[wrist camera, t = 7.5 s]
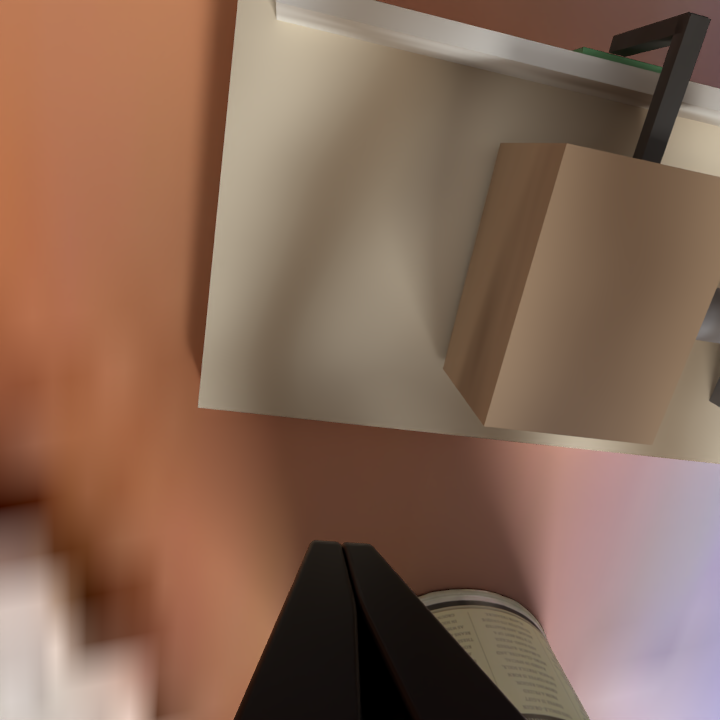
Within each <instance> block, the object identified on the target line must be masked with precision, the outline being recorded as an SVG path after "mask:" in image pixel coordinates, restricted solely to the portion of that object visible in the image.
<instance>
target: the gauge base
mask: <svg viewBox="0 0 720 720" xmlns="http://www.w3.org/2000/svg"><path fill="white" fill-rule="evenodd" d="M662 68H663V67H660V66H656V65H652V64H648V63H644V62H640V61H636V60H633V59H629V58H625V57H621V56H617V55H613V54H609V53H605V52H602V51H598V50H594V49H590V48H586V47H582V48H579V49H576V50H573V51H570V50H566V49H562V48H558V47H555V46H551V45H547V44H543V43H539V42H535V41H531V40H527V39H523V38H519V37H515V36H512V35H508V34H504V33H500V32H496V31H492V30H488V29H484V28H480V27H476V26H472V25H469V24H465V23H461V22H457V21H453V20H449V19H445V18H441V17H437V16H433V15H429V14H426V13H422V12H418V11H414V10H410V9H406V8H402V7H398V6H394V5H390V4H386V3H383V2H379V1H375V0H238V5H237V16H236V26H235V36H234V46H233V56H232V66H231V76H230V87H229V97H228V107H227V117H226V127H225V137H224V147H223V158H222V168H221V178H220V188H219V198H218V208H217V218H216V229H215V239H214V249H213V259H212V269H211V279H210V289H209V300H208V310H207V320H206V330H205V340H204V350H203V360H202V371H201V381H200V391H199V401H198V408H207V409H217V410H226V411H235V412H244V413H254V414H263V415H272V416H281V417H291V418H300V419H309V420H318V421H328V422H337V423H346V424H355V425H365V426H374V427H383V428H392V429H402V430H411V431H420V432H429V433H439V434H448V435H457V436H466V437H476V438H485V439H494V440H503V441H513V442H522V443H531V444H540V445H550V446H559V447H568V448H578V449H587V450H596V451H605V452H615V453H624V454H633V455H642V456H652V457H661V458H670V459H679V460H689V461H698V462H707V463H716V464H720V343H713V342H707V341H700V340H695V342H694V344H693V347H692V349H691V352H690V354H689V357H688V359H687V361H686V364H685V366H684V369H683V371H682V374H681V376H680V378H679V381H678V383H677V386H676V388H675V391H674V393H673V395H672V398H671V400H670V403H669V405H668V408H667V410H666V413H665V415H664V417H663V420H662V422H661V425H660V427H659V430H658V432H657V434H656V437H655V439H654V442H653V444H652V445H646V444H637V443H628V442H619V441H610V440H601V439H593V438H584V437H575V436H566V435H557V434H548V433H539V432H530V431H521V430H512V429H504V428H495V427H486V426H483V424H482V423H481V421H480V420H479V419H478V417H477V416H476V414H475V413H474V412H473V410H472V409H471V407H470V406H469V405H468V403H467V402H466V401H465V399H464V398H463V396H462V395H461V394H460V392H459V391H458V389H457V388H456V387H455V385H454V384H453V382H452V381H451V380H450V378H449V377H448V375H447V374H446V373H445V371H444V370H443V366H444V362H445V358H446V354H447V350H448V346H449V343H450V339H451V335H452V331H453V327H454V323H455V319H456V315H457V311H458V307H459V303H460V299H461V296H462V292H463V288H464V284H465V280H466V276H467V272H468V268H469V264H470V260H471V256H472V252H473V248H474V245H475V241H476V237H477V233H478V229H479V225H480V221H481V217H482V213H483V209H484V205H485V201H486V198H487V194H488V190H489V186H490V182H491V178H492V174H493V170H494V166H495V162H496V158H497V154H498V151H499V147H500V143H568V144H573V145H577V146H582V147H586V148H591V149H595V150H600V151H605V152H609V153H614V154H618V155H623V156H627V157H632V158H633V155H634V152H635V149H636V146H637V143H638V140H639V137H640V134H641V131H642V128H643V125H644V122H645V119H646V116H647V113H648V110H649V107H650V104H651V101H652V98H653V95H654V92H655V89H656V86H657V83H658V80H659V77H660V74H661V71H662ZM660 164H663V165H668V166H672V167H677V168H681V169H686V170H690V171H695V172H700V173H704V174H709V175H713V176H718V177H720V89H719V88H715V87H711V86H707V85H703V84H699V83H695V82H691V81H689V83H688V86H687V89H686V92H685V95H684V98H683V100H682V103H681V106H680V109H679V112H678V115H677V118H676V120H675V123H674V126H673V129H672V132H671V135H670V138H669V140H668V143H667V146H666V149H665V152H664V155H663V158H662V160H661V163H660ZM717 288H720V281H719V284H718V286H717Z"/></svg>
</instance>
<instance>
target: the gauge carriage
mask: <svg viewBox="0 0 720 720" xmlns="http://www.w3.org/2000/svg"><path fill="white" fill-rule="evenodd" d="M710 20H711V19H708V17H705V16H701V15H697V14H694V13H690V12H688V13H685V14H682V15H678V16H675V17H672V18H669V19H666V20H663V21H659V22H656V23H653V24H650V25H647V26H644V27H641V28H637V29H634V30H631V31H628V32H625V33H622V34H619V35H615V36H614V37H613V40H612V43H611V47H610V50H609V53H612V54H616V55H620V56H624V57H626V56H630V55H634V54H638V53H642V52H646V51H650V50H654V49H659V48H663V47H667V46H670V47H669V50H668V53H667V56H666V59H665V62H664V65H663V68H662V71H661V74H660V77H659V80H658V83H657V86H656V89H655V92H654V95H653V98H652V101H651V104H650V107H649V110H648V113H647V116H646V119H645V122H644V125H643V128H642V131H641V134H640V137H639V140H638V143H637V146H636V149H635V152H634V155H633V158H632V157H627V156H623V155H618V154H614V153H609V152H605V151H600V150H595V149H591V148H586V147H582V146H577V145H573V144H568V143H500V147H499V151H498V154H497V158H496V162H495V166H494V170H493V174H492V178H491V182H490V186H489V190H488V194H487V198H486V201H485V205H484V209H483V213H482V217H481V221H480V225H479V229H478V233H477V237H476V241H475V245H474V248H473V252H472V256H471V260H470V264H469V268H468V272H467V276H466V280H465V284H464V288H463V292H462V296H461V299H460V303H459V307H458V311H457V315H456V319H455V323H454V327H453V331H452V335H451V339H450V343H449V346H448V350H447V354H446V358H445V362H444V366H443V370H444V371H445V373H446V374H447V375H448V377H449V378H450V380H451V381H452V382H453V384H454V385H455V387H456V388H457V389H458V391H459V392H460V394H461V395H462V396H463V398H464V399H465V401H466V402H467V403H468V405H469V406H470V407H471V409H472V410H473V412H474V413H475V414H476V416H477V417H478V419H479V420H480V421H481V423H482V424H483V426H486V427H495V428H504V429H512V430H521V431H530V432H539V433H548V434H557V435H566V436H575V437H584V438H593V439H601V440H610V441H619V442H628V443H637V444H646V445H652V444H653V442H654V439H655V437H656V434H657V432H658V430H659V427H660V425H661V422H662V420H663V417H664V415H665V413H666V410H667V408H668V405H669V403H670V400H671V398H672V395H673V393H674V391H675V388H676V386H677V383H678V381H679V378H680V376H681V374H682V371H683V369H684V366H685V364H686V361H687V359H688V357H689V354H690V352H691V349H692V347H693V344H694V342H695V340H700V341H707V342H713V343H720V288H717V286H718V284H719V281H720V177H718V176H713V175H709V174H704V173H700V172H695V171H690V170H686V169H681V168H677V167H672V166H668V165H663V164H660V163H661V160H662V158H663V155H664V152H665V149H666V146H667V143H668V140H669V138H670V135H671V132H672V129H673V126H674V123H675V120H676V118H677V115H678V112H679V109H680V106H681V103H682V100H683V98H684V95H685V92H686V89H687V86H688V83H689V80H690V78H691V75H692V72H693V69H694V66H695V63H696V60H697V58H698V55H699V52H700V49H701V46H702V43H703V40H704V38H705V35H706V32H707V29H708V26H709V23H710Z"/></svg>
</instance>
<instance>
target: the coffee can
mask: <svg viewBox="0 0 720 720" xmlns="http://www.w3.org/2000/svg"><path fill="white" fill-rule="evenodd" d="M418 598H419V599H420V600H421V601H422V602H423V603H424V605H425V606H426V607H427V608H428V609H429V610H430V611H431V612H432V614H433V615H434V616H435V617H436V618H437V619H438V620H439V621H440V623H441V624H442V625H443V626H444V627H445V628H446V629H447V630H448V632H449V633H450V634H451V635H452V636H453V637H454V638H455V639H456V641H457V642H458V643H459V644H460V645H461V646H462V647H463V648H464V650H465V651H466V652H467V653H468V654H469V655H470V656H471V657H472V659H473V660H474V661H475V662H476V663H477V664H478V665H479V666H480V668H481V669H482V670H483V671H484V672H485V673H486V674H487V675H488V677H489V678H490V679H491V680H492V681H493V682H494V683H495V684H496V686H497V687H498V688H499V689H500V690H501V691H502V692H503V693H504V695H505V696H506V697H507V698H508V699H509V700H510V701H511V702H512V704H513V705H514V706H515V707H516V708H517V709H518V710H519V711H520V713H521V714H522V715H523V716H524V717H525V718H526V719H527V720H590V719H589V717H588V715H587V713H586V711H585V710H584V708H583V706H582V704H581V702H580V701H579V699H578V697H577V695H576V693H575V691H574V690H573V688H572V686H571V684H570V682H569V680H568V679H567V677H566V675H565V673H564V671H563V669H562V668H561V666H560V664H559V662H558V660H557V659H556V657H555V655H554V653H553V651H552V650H551V647H550V645H549V643H548V641H547V638H546V635H545V633H544V631H543V629H542V627H541V625H540V624H539V622H538V621H537V620H536V618H535V617H534V616H533V615H532V614H531V613H530V612H529V611H528V610H527V609H526V608H524V607H523V606H522V605H521V604H519V603H518V602H516V601H514V600H512V599H510V598H507V597H504V596H501V595H499V594H496V593H493V592H489V591H483V590H474V589H454V590H445V591H437V592H431V593H428V594H425V595H423V596H419V597H418Z"/></svg>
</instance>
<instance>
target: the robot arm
mask: <svg viewBox="0 0 720 720" xmlns="http://www.w3.org/2000/svg"><path fill="white" fill-rule="evenodd" d="M234 720H527V719H526V718H525V717H524V716H523V715H522V714H521V713H520V711H519V710H518V709H517V708H516V707H515V706H514V705H513V704H512V702H511V701H510V700H509V699H508V698H507V697H506V696H505V695H504V693H503V692H502V691H501V690H500V689H499V688H498V687H497V686H496V684H495V683H494V682H493V681H492V680H491V679H490V678H489V677H488V675H487V674H486V673H485V672H484V671H483V670H482V669H481V668H480V666H479V665H478V664H477V663H476V662H475V661H474V660H473V659H472V657H471V656H470V655H469V654H468V653H467V652H466V651H465V650H464V648H463V647H462V646H461V645H460V644H459V643H458V642H457V641H456V639H455V638H454V637H453V636H452V635H451V634H450V633H449V632H448V630H447V629H446V628H445V627H444V626H443V625H442V624H441V623H440V621H439V620H438V619H437V618H436V617H435V616H434V615H433V614H432V612H431V611H430V610H429V609H428V608H427V607H426V606H425V605H424V603H423V602H422V601H421V600H420V599H419V598H418V597H417V596H416V594H415V593H414V592H413V591H412V590H411V589H410V588H409V587H408V585H407V584H406V583H405V582H404V581H403V580H402V579H401V578H400V576H399V575H398V574H397V573H396V572H395V571H394V570H393V569H392V567H391V566H390V565H389V564H388V563H387V562H386V561H385V560H384V558H383V557H382V556H381V555H380V554H379V553H378V552H377V551H376V549H375V548H374V547H373V546H371V545H370V544H364V543H349V542H346V543H343V544H342V545H341V544H339V543H338V542H334V541H319V540H314V541H312V542H311V543H310V545H309V547H308V550H307V552H306V554H305V557H304V559H303V561H302V564H301V566H300V568H299V570H298V573H297V575H296V577H295V580H294V582H293V584H292V587H291V589H290V591H289V593H288V596H287V598H286V600H285V603H284V605H283V607H282V610H281V612H280V614H279V616H278V619H277V621H276V623H275V626H274V628H273V630H272V633H271V635H270V637H269V639H268V642H267V644H266V646H265V649H264V651H263V653H262V656H261V658H260V660H259V662H258V665H257V667H256V669H255V672H254V674H253V676H252V679H251V681H250V683H249V685H248V688H247V690H246V692H245V695H244V697H243V699H242V702H241V704H240V706H239V708H238V711H237V713H236V715H235V718H234Z"/></svg>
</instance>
